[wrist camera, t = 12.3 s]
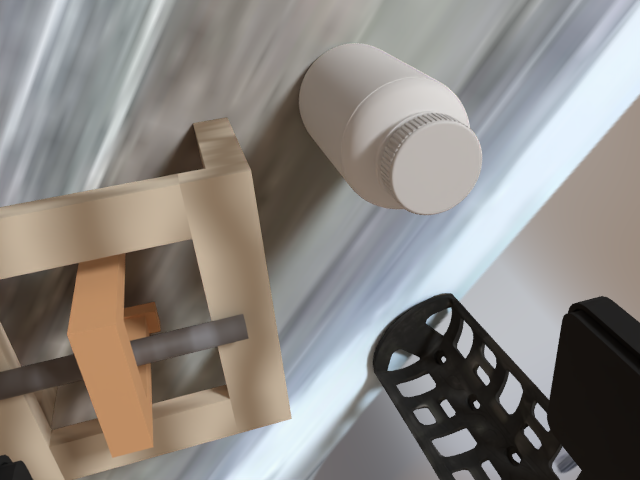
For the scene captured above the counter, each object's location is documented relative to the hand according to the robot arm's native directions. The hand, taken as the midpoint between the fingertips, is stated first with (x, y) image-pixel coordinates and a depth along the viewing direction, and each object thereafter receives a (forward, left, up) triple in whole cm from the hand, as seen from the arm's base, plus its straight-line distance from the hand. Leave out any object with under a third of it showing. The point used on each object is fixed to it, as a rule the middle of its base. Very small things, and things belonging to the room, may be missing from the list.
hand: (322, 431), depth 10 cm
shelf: (+15, -8, -33) cm, 37 cm away
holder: (+30, +17, -34) cm, 48 cm away
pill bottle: (+5, +11, -34) cm, 36 cm away
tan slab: (+15, -8, -32) cm, 36 cm away
